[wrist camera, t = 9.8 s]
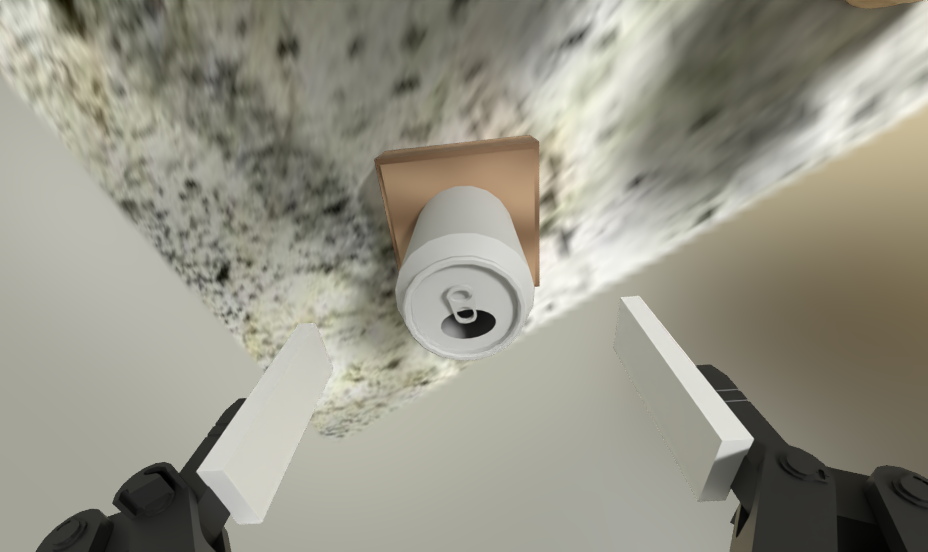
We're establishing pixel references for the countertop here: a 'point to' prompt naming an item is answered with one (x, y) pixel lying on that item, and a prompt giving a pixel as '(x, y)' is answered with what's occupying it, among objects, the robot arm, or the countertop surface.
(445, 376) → the countertop surface
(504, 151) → the tan cardboard box
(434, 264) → the can
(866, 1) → the container
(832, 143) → the countertop surface
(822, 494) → the robot arm
